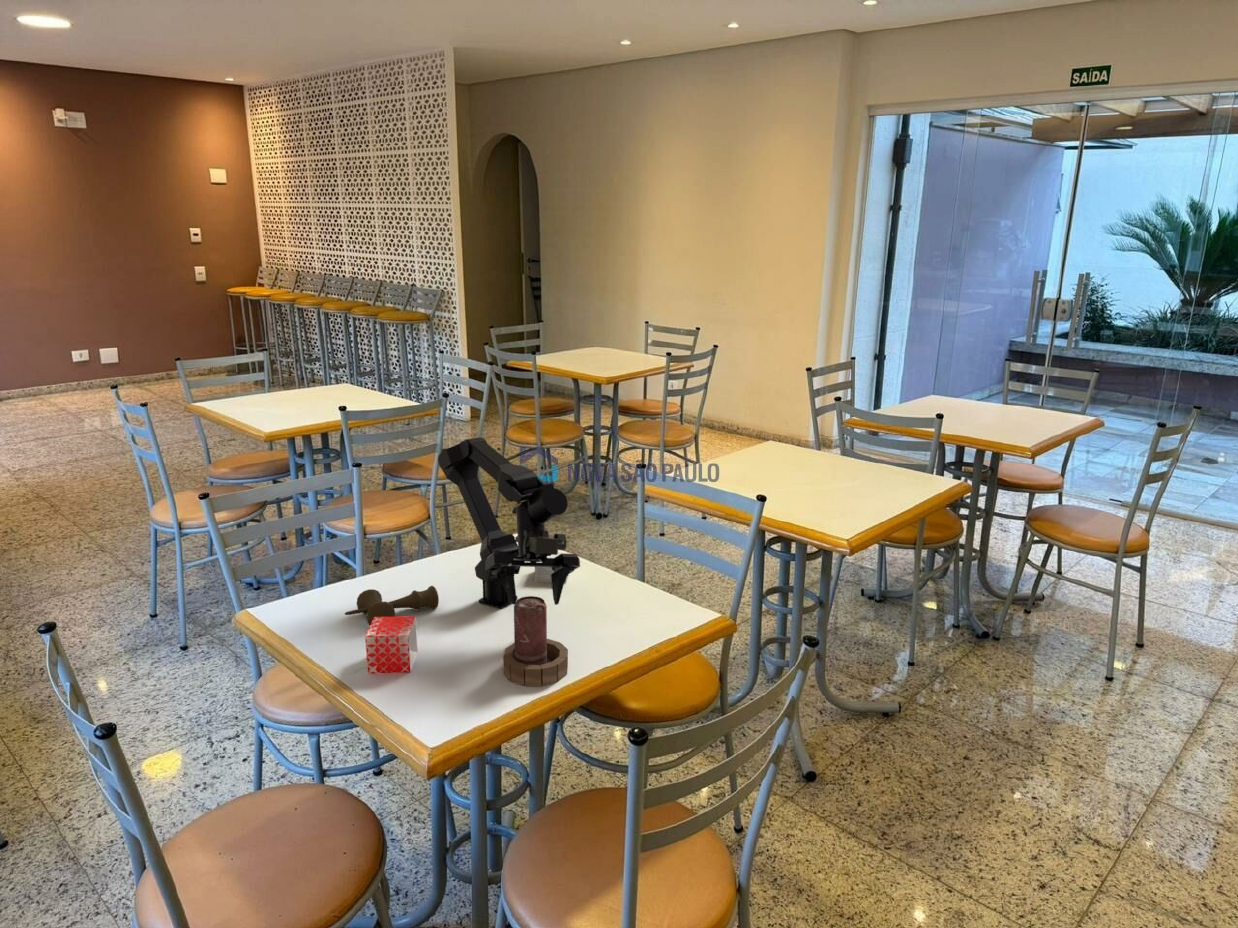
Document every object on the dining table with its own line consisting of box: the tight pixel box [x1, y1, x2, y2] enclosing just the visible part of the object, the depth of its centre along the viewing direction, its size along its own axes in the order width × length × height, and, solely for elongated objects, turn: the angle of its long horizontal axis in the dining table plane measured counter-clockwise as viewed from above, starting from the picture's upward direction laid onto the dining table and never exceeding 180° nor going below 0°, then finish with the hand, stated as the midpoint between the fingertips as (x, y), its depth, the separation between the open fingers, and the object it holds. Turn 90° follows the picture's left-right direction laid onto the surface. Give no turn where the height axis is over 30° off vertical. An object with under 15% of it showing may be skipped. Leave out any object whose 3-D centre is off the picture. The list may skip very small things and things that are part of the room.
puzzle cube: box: [364, 615, 418, 675], centre depth 156 cm, size 8×8×8 cm
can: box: [513, 595, 548, 665], centre depth 154 cm, size 6×6×14 cm
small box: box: [534, 552, 571, 584], centre depth 198 cm, size 8×8×5 cm
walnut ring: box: [502, 638, 569, 687], centre depth 155 cm, size 12×12×4 cm
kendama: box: [344, 585, 440, 626], centre depth 176 cm, size 6×10×20 cm
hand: (535, 604), depth 163 cm, fingers open, 9 cm apart
